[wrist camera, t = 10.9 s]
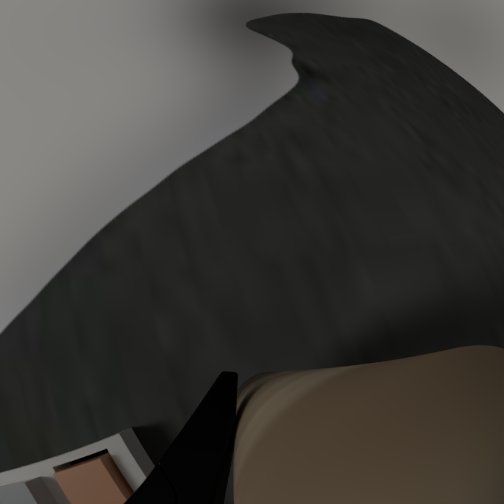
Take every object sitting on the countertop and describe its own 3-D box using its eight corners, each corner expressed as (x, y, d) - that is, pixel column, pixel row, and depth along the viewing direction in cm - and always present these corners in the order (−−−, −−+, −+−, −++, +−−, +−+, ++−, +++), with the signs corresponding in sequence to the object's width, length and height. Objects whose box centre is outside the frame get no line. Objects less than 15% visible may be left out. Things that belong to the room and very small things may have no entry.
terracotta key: (148, 501, 15) (138, 515, 12) (101, 514, 14) (88, 527, 11) (114, 450, 16) (99, 458, 14) (69, 465, 15) (52, 473, 13)
